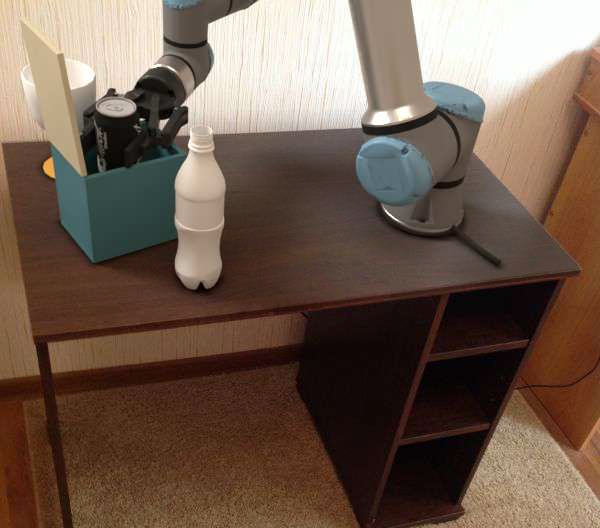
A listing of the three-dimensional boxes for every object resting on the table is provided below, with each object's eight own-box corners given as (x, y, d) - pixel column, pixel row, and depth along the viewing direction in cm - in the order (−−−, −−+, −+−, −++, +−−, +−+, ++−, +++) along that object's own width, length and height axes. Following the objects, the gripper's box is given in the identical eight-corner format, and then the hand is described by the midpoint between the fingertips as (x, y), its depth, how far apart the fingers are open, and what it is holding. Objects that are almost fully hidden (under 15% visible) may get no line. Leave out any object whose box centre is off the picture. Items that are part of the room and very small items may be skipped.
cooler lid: (24, 15, 99) (18, 16, 99) (63, 52, 93) (57, 54, 93) (52, 136, 113) (46, 137, 112) (87, 175, 107) (81, 177, 106)
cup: (89, 191, 131) (80, 96, 118) (24, 178, 131) (8, 81, 119) (112, 158, 139) (105, 65, 126) (50, 145, 139) (38, 52, 127)
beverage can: (133, 194, 115) (129, 120, 106) (92, 185, 116) (85, 111, 107) (148, 173, 120) (145, 100, 111) (108, 164, 120) (103, 91, 111)
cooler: (151, 199, 131) (149, 118, 121) (186, 235, 125) (187, 154, 115) (61, 223, 124) (49, 139, 113) (93, 263, 118) (85, 179, 107)
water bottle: (198, 260, 121) (201, 112, 103) (230, 281, 119) (240, 133, 100) (165, 278, 117) (162, 127, 99) (198, 300, 114) (201, 150, 96)
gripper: (218, 124, 127) (167, 192, 111) (110, 97, 128) (44, 161, 113) (220, 80, 121) (166, 145, 105) (107, 53, 123) (37, 113, 107)
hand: (103, 153), depth 109 cm, fingers closed on beverage can, 6 cm apart
